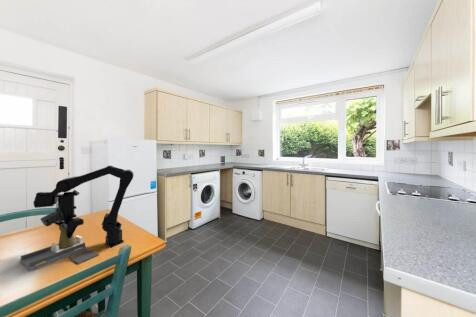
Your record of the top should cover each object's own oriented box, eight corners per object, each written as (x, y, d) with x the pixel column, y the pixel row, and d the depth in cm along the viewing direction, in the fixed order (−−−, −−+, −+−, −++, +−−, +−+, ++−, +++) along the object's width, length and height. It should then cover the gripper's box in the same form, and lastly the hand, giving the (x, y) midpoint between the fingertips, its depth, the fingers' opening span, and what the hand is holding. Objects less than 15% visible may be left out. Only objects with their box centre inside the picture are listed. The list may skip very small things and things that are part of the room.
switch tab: (76, 241, 96) (76, 234, 96) (83, 244, 93) (83, 238, 93) (50, 250, 88) (50, 242, 87) (57, 254, 84) (57, 247, 84)
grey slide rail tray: (74, 243, 98) (74, 237, 98) (86, 249, 92) (86, 243, 92) (20, 262, 81) (19, 255, 81) (30, 271, 75) (30, 264, 75)
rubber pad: (90, 250, 92) (90, 249, 92) (99, 255, 88) (99, 254, 88) (69, 258, 84) (69, 257, 84) (78, 264, 81) (78, 263, 81)
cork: (78, 242, 93) (78, 220, 93) (67, 248, 87) (67, 225, 87) (65, 242, 93) (65, 220, 92) (54, 248, 87) (53, 225, 86)
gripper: (34, 206, 86) (35, 239, 87) (52, 213, 78) (53, 250, 79) (65, 200, 96) (66, 230, 97) (84, 206, 88) (84, 239, 88)
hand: (66, 237), depth 90 cm, fingers closed on cork, 4 cm apart
